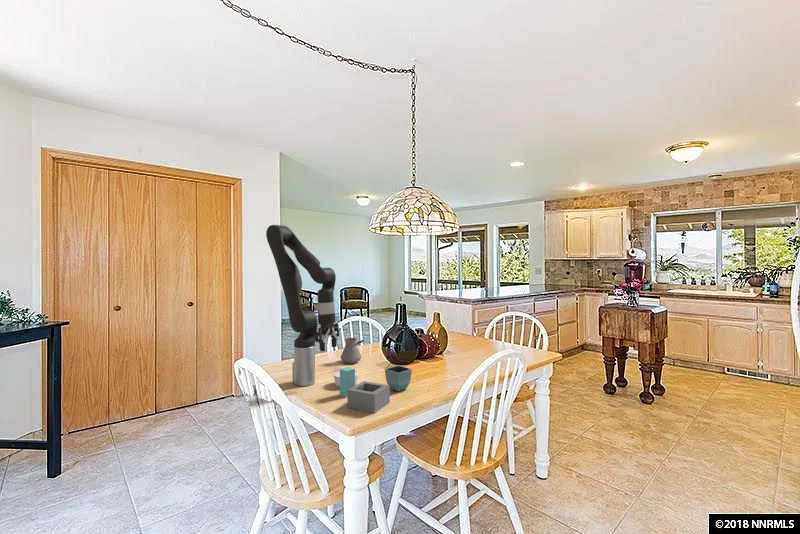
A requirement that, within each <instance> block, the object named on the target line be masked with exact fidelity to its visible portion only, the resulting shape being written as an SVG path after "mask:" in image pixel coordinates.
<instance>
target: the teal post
mask: <svg viewBox="0 0 800 534" xmlns="http://www.w3.org/2000/svg"><path fill="white" fill-rule="evenodd" d="M339 371H340V387H339V395H340V396H341V397H344V398H347V399H348V389H350V388H352V387H354V386H355V371H356V369H355V368H353V367H350V366H346V367H343V368H342V367H341V368H339Z"/></svg>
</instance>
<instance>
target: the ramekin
mask: <svg viewBox="0 0 800 534" xmlns="http://www.w3.org/2000/svg"><path fill="white" fill-rule="evenodd" d="M358 378H359V372H358V371H356V370H355V385H357V383H358ZM333 379H334V382H335V385H336V387H337V388H340V370H337V371H335V372H334V373H333Z"/></svg>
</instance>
